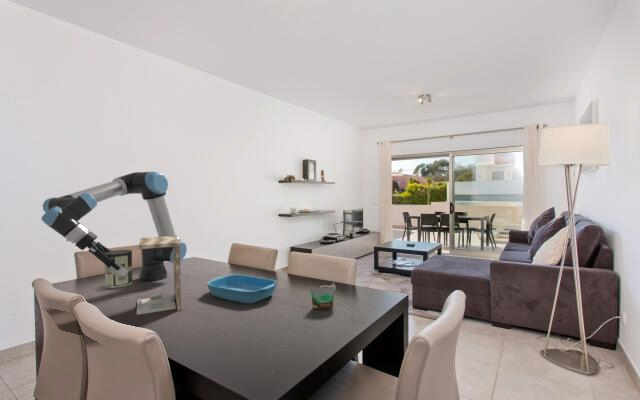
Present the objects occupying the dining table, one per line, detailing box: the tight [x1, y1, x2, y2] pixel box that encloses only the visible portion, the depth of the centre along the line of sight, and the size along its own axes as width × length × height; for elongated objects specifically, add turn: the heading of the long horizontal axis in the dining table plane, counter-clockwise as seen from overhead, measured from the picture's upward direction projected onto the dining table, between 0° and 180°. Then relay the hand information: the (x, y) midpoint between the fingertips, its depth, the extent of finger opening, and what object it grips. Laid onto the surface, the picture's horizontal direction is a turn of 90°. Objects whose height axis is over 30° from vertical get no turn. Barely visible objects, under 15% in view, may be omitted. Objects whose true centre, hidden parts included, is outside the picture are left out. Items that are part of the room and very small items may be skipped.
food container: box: [309, 282, 337, 311], centre depth 142 cm, size 12×6×10 cm, turn 117°
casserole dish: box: [206, 273, 278, 304], centre depth 161 cm, size 37×22×7 cm, turn 60°
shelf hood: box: [138, 235, 182, 312], centre depth 148 cm, size 16×24×30 cm, turn 27°
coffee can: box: [104, 249, 134, 289], centre depth 140 cm, size 10×10×14 cm
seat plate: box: [136, 294, 177, 316], centre depth 147 cm, size 15×18×2 cm
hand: (126, 270), depth 142 cm, fingers closed on coffee can, 10 cm apart
